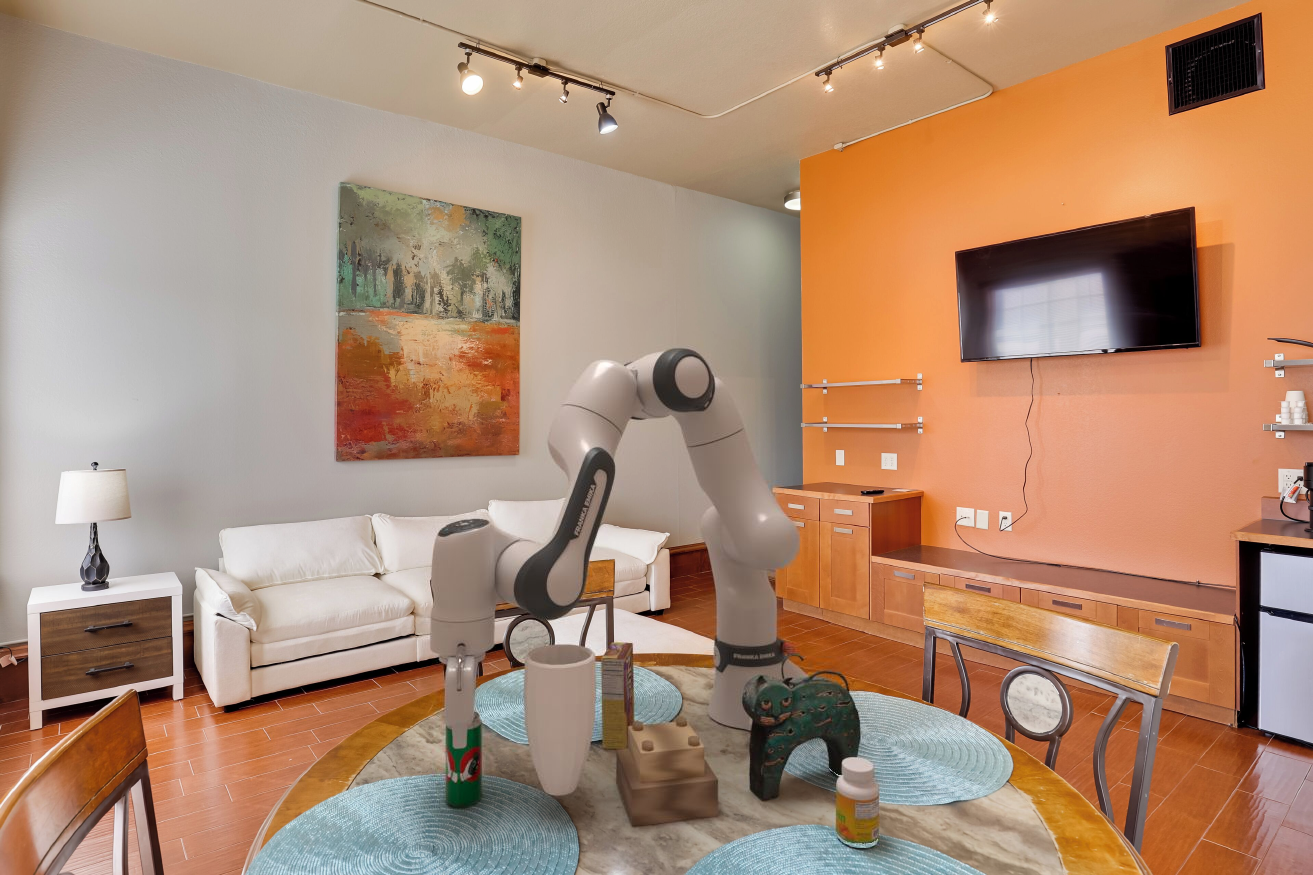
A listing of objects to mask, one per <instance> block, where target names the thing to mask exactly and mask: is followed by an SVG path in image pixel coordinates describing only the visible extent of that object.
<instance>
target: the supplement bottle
mask: <svg viewBox="0 0 1313 875" xmlns="http://www.w3.org/2000/svg"><path fill="white" fill-rule="evenodd" d="M874 776H875V768H874V764H873V762H871V761H870V760H868V759H865V758H862V757H858V756H857V757H850V758H846V759H844V760H843V761H842V775H841V776H840V777H837V779H836V785H835V786H836V787H835V833H836V832H837V834H838V835H839V836H840V837H841V838H842V839H843V840H845V841H847V842H851V843H862V844H864V843H865V844H866V843H872V842H874V841H876V840H877V839H878V837H879V838H880V788H879V785H878V783H877V781H876V780H875V779H874ZM878 840H879V839H878Z"/></svg>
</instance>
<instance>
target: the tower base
mask: <svg viewBox="0 0 1313 875" xmlns="http://www.w3.org/2000/svg"><path fill="white" fill-rule="evenodd" d="M705 749H706V748H705V745H704V744H703V743H702V741H701V740H700V737H699V736H698V735H697V734H696V731H694V729H693V727H692V726H691V725H690V723H689V722H688V720H687V718H686V717H683V716H680V717H676V718H675V721H671V722H660V723H651V724H649V723H648V724H644V722H643V721H640V720H636V721H635V722H633V723H632V726H628V745H627V748H626V749H615V750H616V751H615V753H616V755H615V757H616V758H615V759H616V760H615V762H616V763H615V775H616V776H615V783H616V786H617V789H618V792H619V795H620V796H621V801H622V803H623V805H624V808H625V812H626V814H627V817H628V820H629V823H630V825H631V827H632V828H633V827H641V826H648V825H657V824H665V823H673V822H680V821H681V822H682V821H687V820H688V821H689V820H696V819H704V818H712V817H719V816H718V815H719V804H718V803H719V779H718V777H717V776H716V775H715V773H714V771H713V770H712V768H711V767H710V765H709V764H708V762H707V761H706V758H705Z"/></svg>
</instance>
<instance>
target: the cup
mask: <svg viewBox="0 0 1313 875" xmlns="http://www.w3.org/2000/svg"><path fill="white" fill-rule="evenodd" d="M596 667H597V666H596V654H595V652H594V651H593V650H592V649H590V647H586V646H583V645H577V644H564V643H563V644H551V645H544V646H540V647H536V648H534V649H532V650H530V651H529V652H527V654H526V656H525V658H524V673H523V674H524V678H523V679H524V680H523V708H524V709H523V711H524V727H525V732H526V733H525V734H526V737H527V743H528V746H529V753H530V758H531V760H532V762H533V766H534V768H535V771H536V772H535V773H536V775H537V778H538V780H539V783H540V785H541V786H542V789H543V791H544V792H545V793H546V794H548V795H551V796H565V795H569V794H572V793H573V792H574V791H575V790H576V789H577V787H578V785H579V783H580V780H581V778H582V777H583V776H582V775H583V773H584V770H585V766H586V764H587V760H588V757H589V752H590V747H591V743H592V737H593V732H594V728H595V722H596V721H595V720H596V704H597V703H596V702H597V701H596V699H597V674H596V672H597V670H596Z"/></svg>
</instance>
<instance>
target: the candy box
mask: <svg viewBox="0 0 1313 875" xmlns="http://www.w3.org/2000/svg"><path fill="white" fill-rule="evenodd" d="M600 664H601V665H600V666H601V667H600V668H601V673H600V674H601V725H602V726H601V728H602V733H601V734H602V735H601V736H602V738H601V739H602V749H606V750H618V749H627V748H628V726H632V723H633V722H635V719H636V718H635V683H634V675H635V674H634V643H633V642H619V641H618V642H617V641H615V642H611V643H610V645H609V646H608V648H607V650H606V651H605V653H604V654H603V655H602V657H601V658H600Z"/></svg>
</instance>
